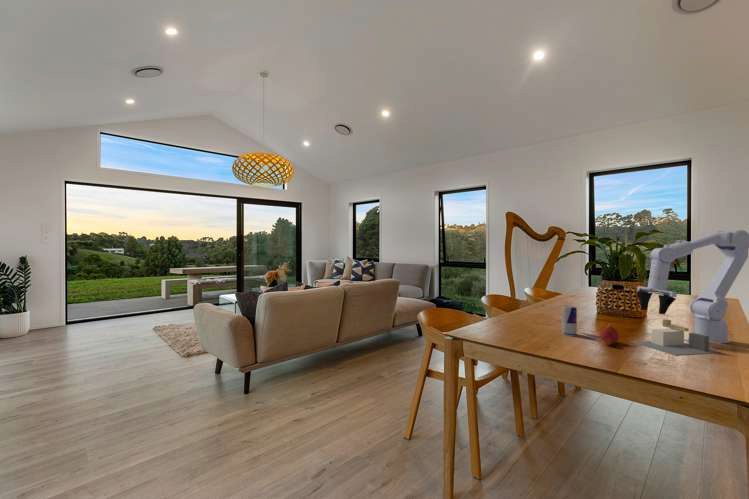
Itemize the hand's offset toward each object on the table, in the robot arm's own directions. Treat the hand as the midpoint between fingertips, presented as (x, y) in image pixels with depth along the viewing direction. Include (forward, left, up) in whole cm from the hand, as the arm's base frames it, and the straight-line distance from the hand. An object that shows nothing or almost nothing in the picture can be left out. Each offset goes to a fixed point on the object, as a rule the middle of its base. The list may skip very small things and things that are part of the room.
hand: (652, 311), depth 139 cm
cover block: (+3, +9, -10) cm, 14 cm away
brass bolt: (-1, +9, -5) cm, 10 cm away
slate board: (+5, +12, -11) cm, 17 cm away
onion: (+23, +4, -11) cm, 26 cm away
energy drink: (+27, -12, -11) cm, 32 cm away
